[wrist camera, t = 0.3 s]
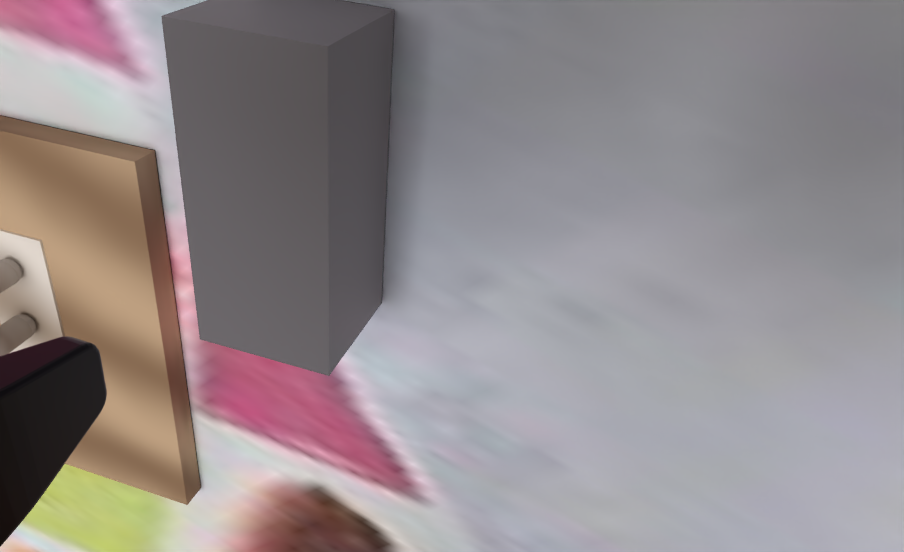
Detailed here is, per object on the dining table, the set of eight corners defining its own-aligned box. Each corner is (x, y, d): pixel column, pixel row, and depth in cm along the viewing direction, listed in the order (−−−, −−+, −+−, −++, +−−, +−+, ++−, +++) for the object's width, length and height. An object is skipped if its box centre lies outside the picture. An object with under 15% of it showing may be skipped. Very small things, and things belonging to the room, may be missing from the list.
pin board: (200, 488, 33) (142, 560, 30) (-22, 414, 36) (-98, 474, 32) (154, 150, 24) (66, 200, 21) (-135, 85, 27) (-254, 121, 24)
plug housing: (381, 302, 25) (328, 375, 22) (267, 273, 26) (200, 339, 22) (394, 9, 20) (327, 46, 16) (251, -15, 21) (161, 16, 17)
